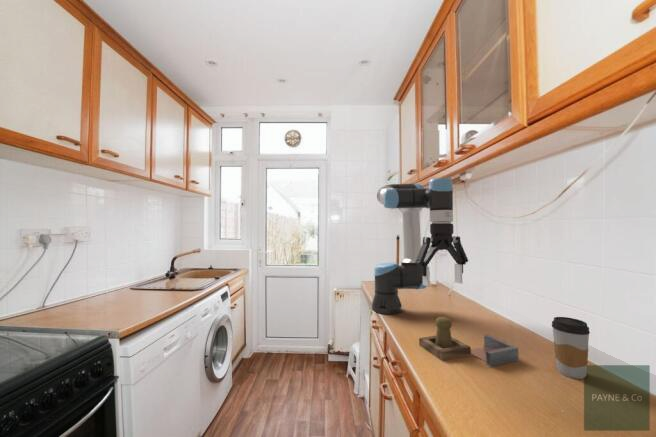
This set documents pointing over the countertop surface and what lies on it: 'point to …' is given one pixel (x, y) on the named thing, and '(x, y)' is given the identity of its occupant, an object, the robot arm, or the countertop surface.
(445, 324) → the olive stamp handle
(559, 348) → the coffee cup
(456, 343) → the socket block
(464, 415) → the countertop surface
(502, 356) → the corner cradle
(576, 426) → the countertop surface
